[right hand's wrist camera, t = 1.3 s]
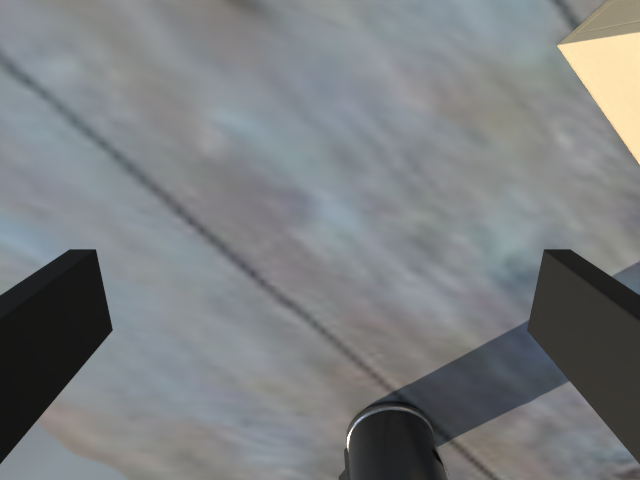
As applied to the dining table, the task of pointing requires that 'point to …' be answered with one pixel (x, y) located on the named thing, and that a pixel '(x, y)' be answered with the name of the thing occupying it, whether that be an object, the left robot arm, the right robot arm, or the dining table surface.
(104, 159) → the dining table surface
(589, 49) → the cabinet
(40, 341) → the right robot arm
